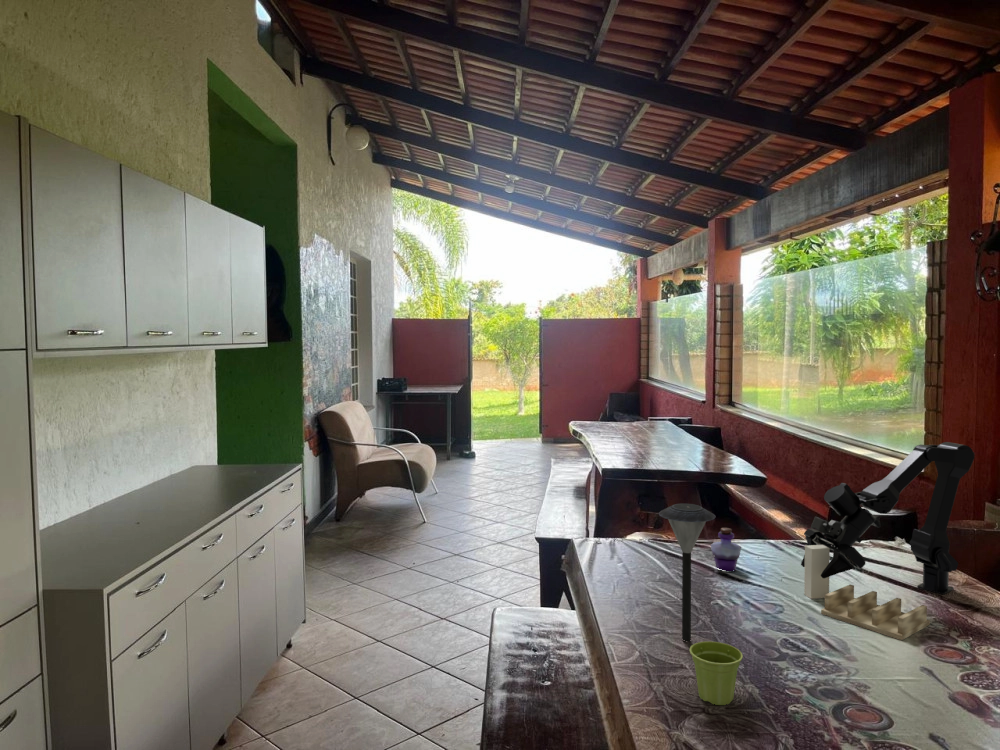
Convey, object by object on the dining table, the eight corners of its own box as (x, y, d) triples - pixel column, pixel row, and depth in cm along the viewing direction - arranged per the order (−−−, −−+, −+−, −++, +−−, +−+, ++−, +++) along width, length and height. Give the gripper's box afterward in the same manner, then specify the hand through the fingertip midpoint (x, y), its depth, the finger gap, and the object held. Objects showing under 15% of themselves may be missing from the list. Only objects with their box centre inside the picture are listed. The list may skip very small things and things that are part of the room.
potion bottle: (723, 562, 202) (724, 523, 201) (747, 570, 194) (748, 529, 194) (704, 567, 197) (704, 527, 197) (727, 576, 190) (728, 534, 189)
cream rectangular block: (822, 593, 176) (822, 544, 176) (829, 597, 173) (829, 548, 173) (804, 594, 176) (804, 545, 175) (811, 598, 173) (811, 549, 172)
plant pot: (682, 686, 129) (682, 641, 129) (729, 683, 130) (729, 639, 130) (700, 712, 120) (700, 664, 120) (751, 709, 121) (751, 662, 120)
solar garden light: (685, 657, 141) (685, 516, 140) (646, 635, 152) (646, 504, 150) (727, 645, 147) (728, 509, 145) (687, 624, 157) (688, 498, 156)
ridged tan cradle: (850, 600, 171) (850, 583, 171) (929, 624, 156) (930, 605, 156) (821, 613, 163) (821, 595, 163) (901, 640, 148) (902, 620, 148)
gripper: (810, 498, 183) (772, 540, 182) (855, 515, 165) (812, 562, 164) (837, 525, 184) (799, 567, 184) (884, 546, 166) (842, 592, 165)
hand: (811, 571), depth 174 cm, fingers open, 8 cm apart
